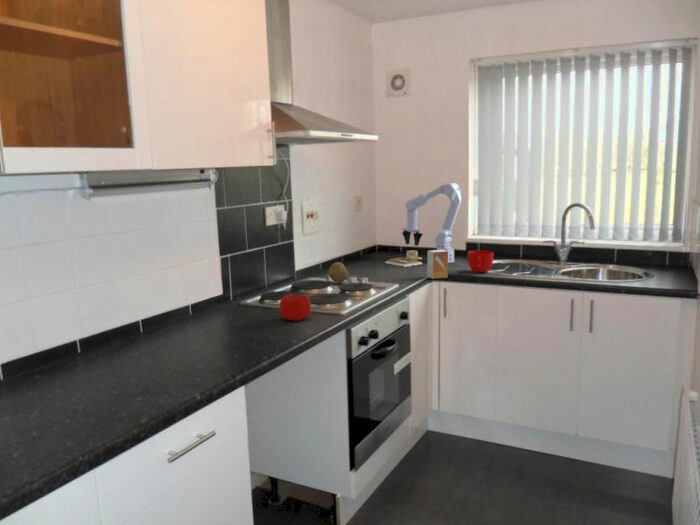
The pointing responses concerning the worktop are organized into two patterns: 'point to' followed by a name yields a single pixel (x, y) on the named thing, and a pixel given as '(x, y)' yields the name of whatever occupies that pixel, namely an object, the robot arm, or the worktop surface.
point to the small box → (437, 264)
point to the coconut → (338, 272)
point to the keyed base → (403, 262)
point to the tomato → (295, 307)
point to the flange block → (413, 255)
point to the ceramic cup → (480, 260)
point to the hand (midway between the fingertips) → (412, 244)
